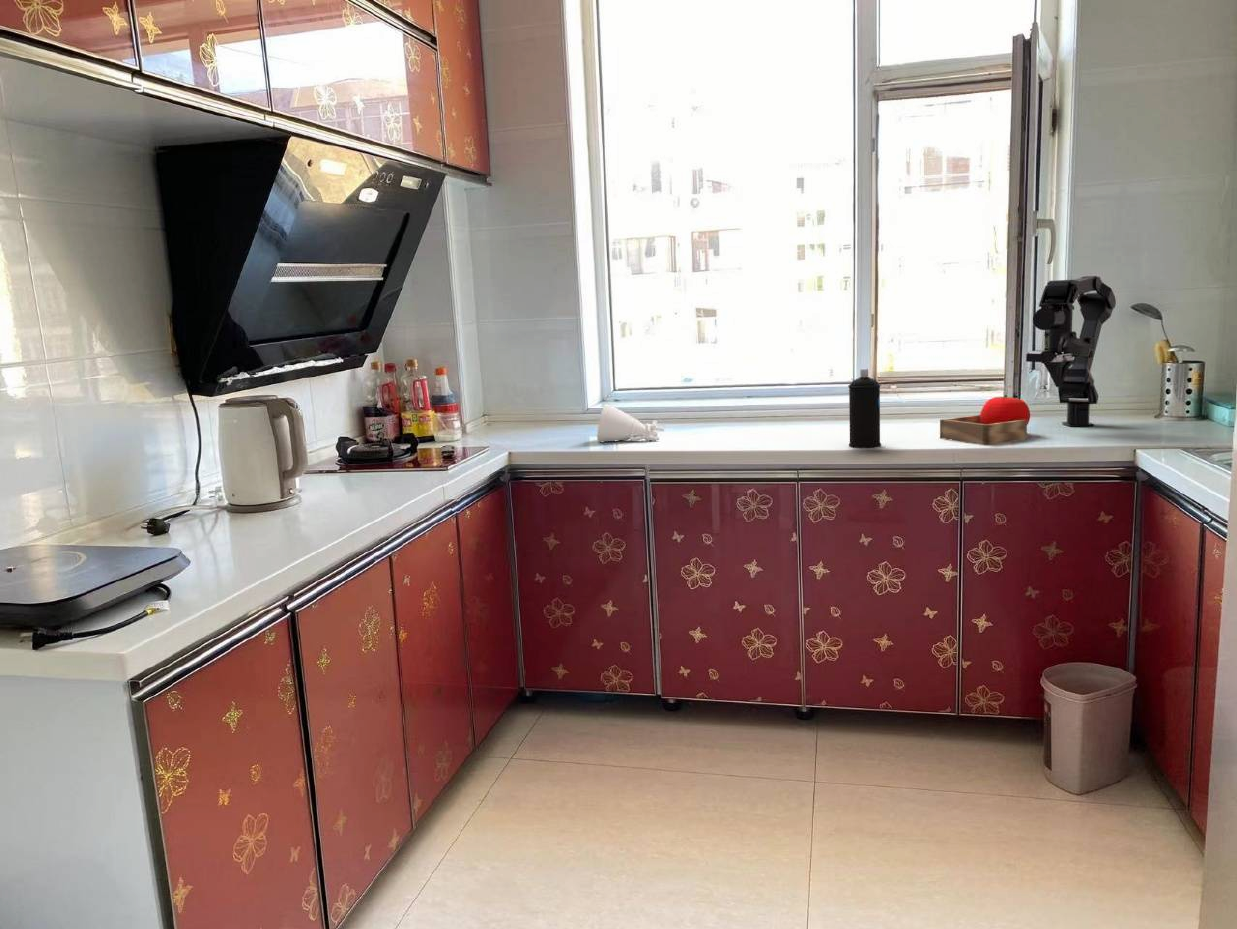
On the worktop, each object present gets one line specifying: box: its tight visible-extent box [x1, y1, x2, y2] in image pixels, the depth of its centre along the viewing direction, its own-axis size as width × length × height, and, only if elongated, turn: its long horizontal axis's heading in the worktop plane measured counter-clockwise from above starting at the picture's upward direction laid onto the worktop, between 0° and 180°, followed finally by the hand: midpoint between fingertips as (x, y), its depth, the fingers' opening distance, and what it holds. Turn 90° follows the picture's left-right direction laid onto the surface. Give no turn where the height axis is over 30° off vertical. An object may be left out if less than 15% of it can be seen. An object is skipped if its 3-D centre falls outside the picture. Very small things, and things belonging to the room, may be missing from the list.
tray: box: [939, 414, 1028, 446], centre depth 253 cm, size 14×16×5 cm
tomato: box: [979, 394, 1031, 426], centre depth 256 cm, size 11×12×10 cm
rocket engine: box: [597, 403, 665, 442], centre depth 281 cm, size 12×12×18 cm
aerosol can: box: [847, 368, 882, 449], centre depth 251 cm, size 8×8×20 cm
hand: (1058, 386), depth 257 cm, fingers closed
